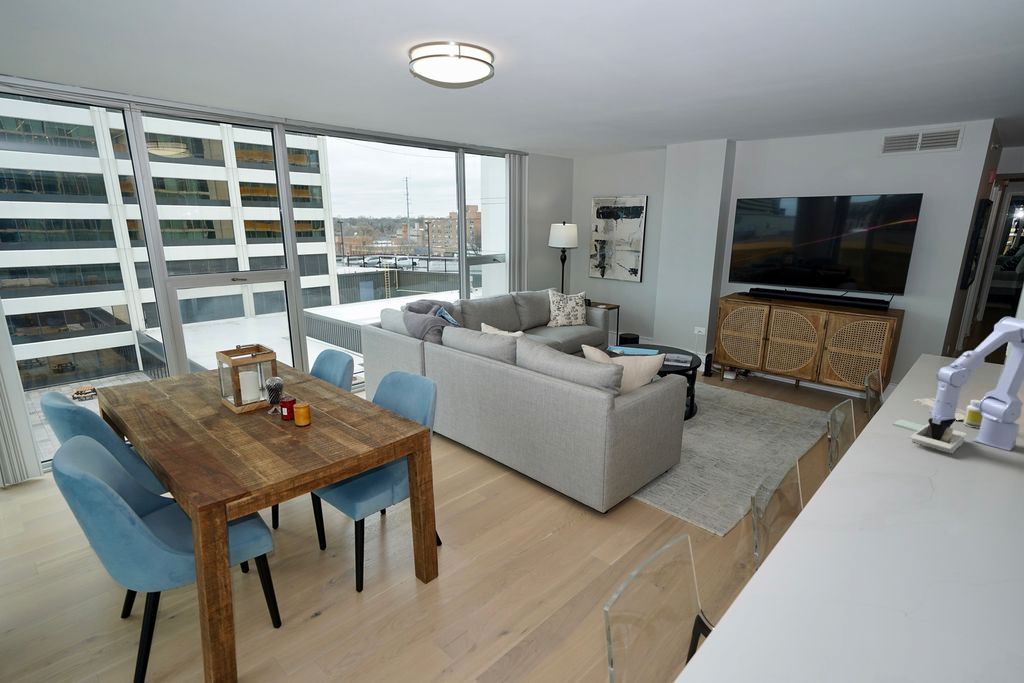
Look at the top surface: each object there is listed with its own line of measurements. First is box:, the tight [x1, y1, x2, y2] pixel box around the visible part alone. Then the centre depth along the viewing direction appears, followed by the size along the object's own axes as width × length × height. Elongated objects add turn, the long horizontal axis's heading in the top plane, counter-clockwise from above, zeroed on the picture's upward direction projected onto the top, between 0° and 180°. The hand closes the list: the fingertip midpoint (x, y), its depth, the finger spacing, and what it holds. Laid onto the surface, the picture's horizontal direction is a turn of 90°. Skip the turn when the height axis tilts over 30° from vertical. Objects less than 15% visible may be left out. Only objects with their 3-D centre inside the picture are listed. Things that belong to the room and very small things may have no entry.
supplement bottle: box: [962, 399, 983, 429], centre depth 188 cm, size 5×5×10 cm
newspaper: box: [913, 397, 966, 421], centre depth 204 cm, size 23×12×2 cm, turn 178°
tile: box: [892, 418, 925, 432], centre depth 189 cm, size 8×7×1 cm
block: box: [925, 425, 954, 444], centre depth 174 cm, size 6×4×6 cm, turn 36°
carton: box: [908, 422, 968, 454], centre depth 174 cm, size 11×20×3 cm, turn 126°
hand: (938, 438), depth 174 cm, fingers closed on block, 4 cm apart
